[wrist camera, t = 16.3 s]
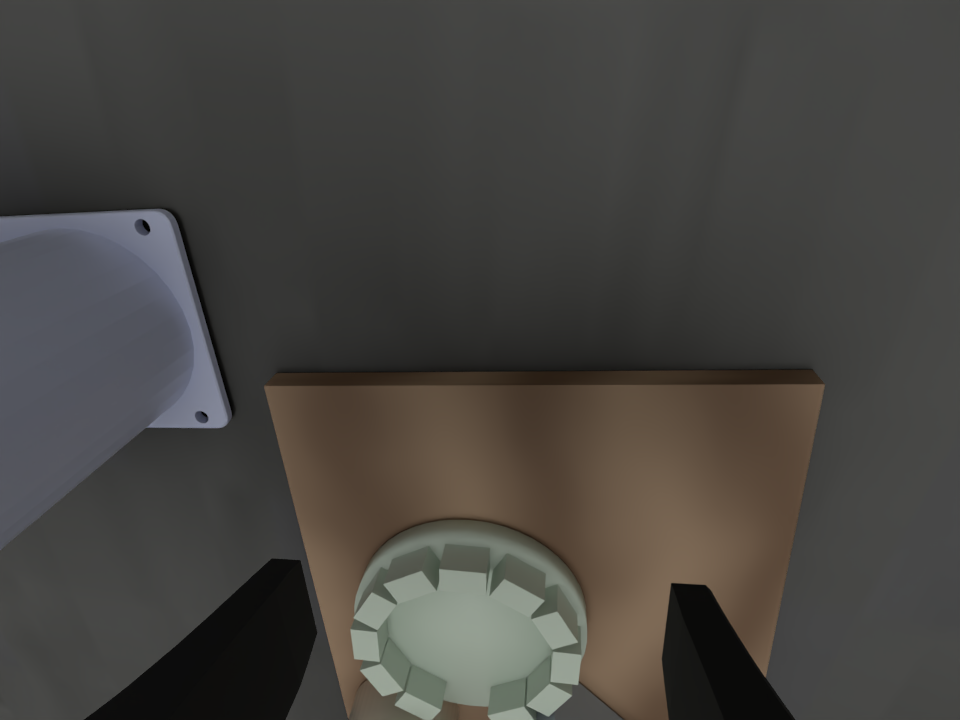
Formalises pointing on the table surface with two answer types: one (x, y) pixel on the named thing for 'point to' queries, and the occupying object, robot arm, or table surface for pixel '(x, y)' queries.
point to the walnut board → (562, 492)
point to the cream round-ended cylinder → (390, 707)
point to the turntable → (474, 624)
